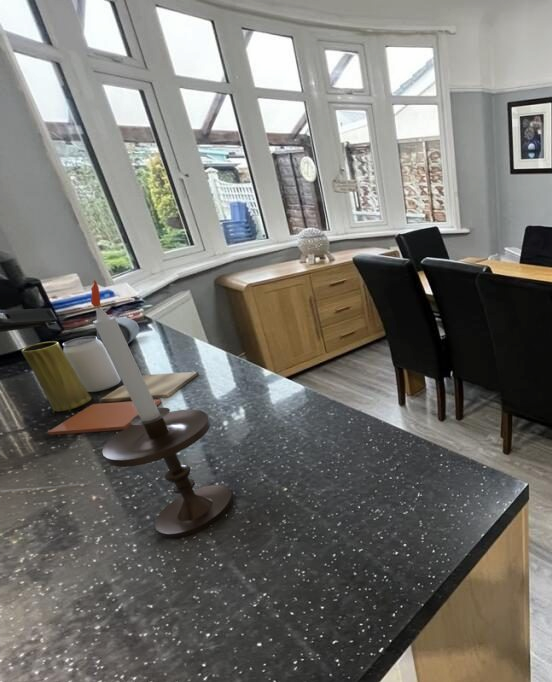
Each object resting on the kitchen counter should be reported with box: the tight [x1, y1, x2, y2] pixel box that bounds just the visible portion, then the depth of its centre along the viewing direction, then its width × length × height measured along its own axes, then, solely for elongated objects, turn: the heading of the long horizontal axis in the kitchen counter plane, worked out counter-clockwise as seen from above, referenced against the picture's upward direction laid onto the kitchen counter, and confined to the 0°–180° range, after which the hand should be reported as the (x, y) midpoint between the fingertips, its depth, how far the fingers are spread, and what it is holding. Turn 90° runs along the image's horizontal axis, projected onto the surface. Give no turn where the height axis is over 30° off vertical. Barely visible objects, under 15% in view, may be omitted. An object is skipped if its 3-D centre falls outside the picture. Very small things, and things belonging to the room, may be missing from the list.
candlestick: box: [90, 279, 234, 540], centre depth 51 cm, size 11×11×35 cm
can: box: [62, 335, 122, 393], centre depth 92 cm, size 6×6×12 cm
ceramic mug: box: [96, 317, 140, 345], centre depth 117 cm, size 11×8×8 cm
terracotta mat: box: [47, 398, 162, 436], centre depth 82 cm, size 14×10×1 cm
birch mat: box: [100, 371, 199, 403], centre depth 93 cm, size 14×11×1 cm
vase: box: [21, 340, 93, 412], centre depth 84 cm, size 6×6×14 cm
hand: (11, 338), depth 78 cm, fingers open, 13 cm apart
